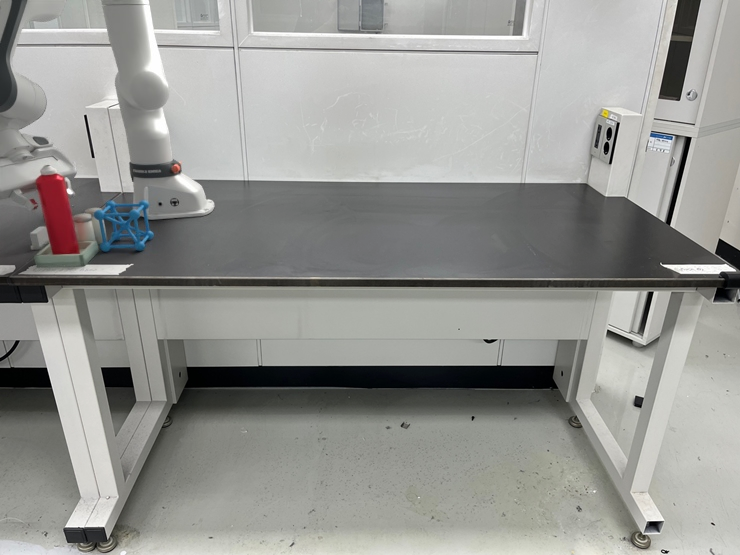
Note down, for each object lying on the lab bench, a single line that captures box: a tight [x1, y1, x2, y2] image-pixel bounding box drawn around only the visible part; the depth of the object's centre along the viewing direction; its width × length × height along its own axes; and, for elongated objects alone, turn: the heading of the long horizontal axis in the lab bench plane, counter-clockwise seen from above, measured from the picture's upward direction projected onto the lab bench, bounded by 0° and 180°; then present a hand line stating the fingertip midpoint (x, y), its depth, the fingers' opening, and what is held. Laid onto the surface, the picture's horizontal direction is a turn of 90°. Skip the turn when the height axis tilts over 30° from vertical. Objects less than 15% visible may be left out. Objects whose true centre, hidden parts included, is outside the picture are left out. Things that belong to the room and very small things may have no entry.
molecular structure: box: [94, 200, 154, 252], centre depth 131 cm, size 10×10×10 cm
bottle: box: [35, 165, 80, 255], centre depth 120 cm, size 5×5×20 cm
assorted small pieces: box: [29, 207, 108, 268], centre depth 128 cm, size 16×20×8 cm
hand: (53, 202), depth 120 cm, fingers open, 8 cm apart
